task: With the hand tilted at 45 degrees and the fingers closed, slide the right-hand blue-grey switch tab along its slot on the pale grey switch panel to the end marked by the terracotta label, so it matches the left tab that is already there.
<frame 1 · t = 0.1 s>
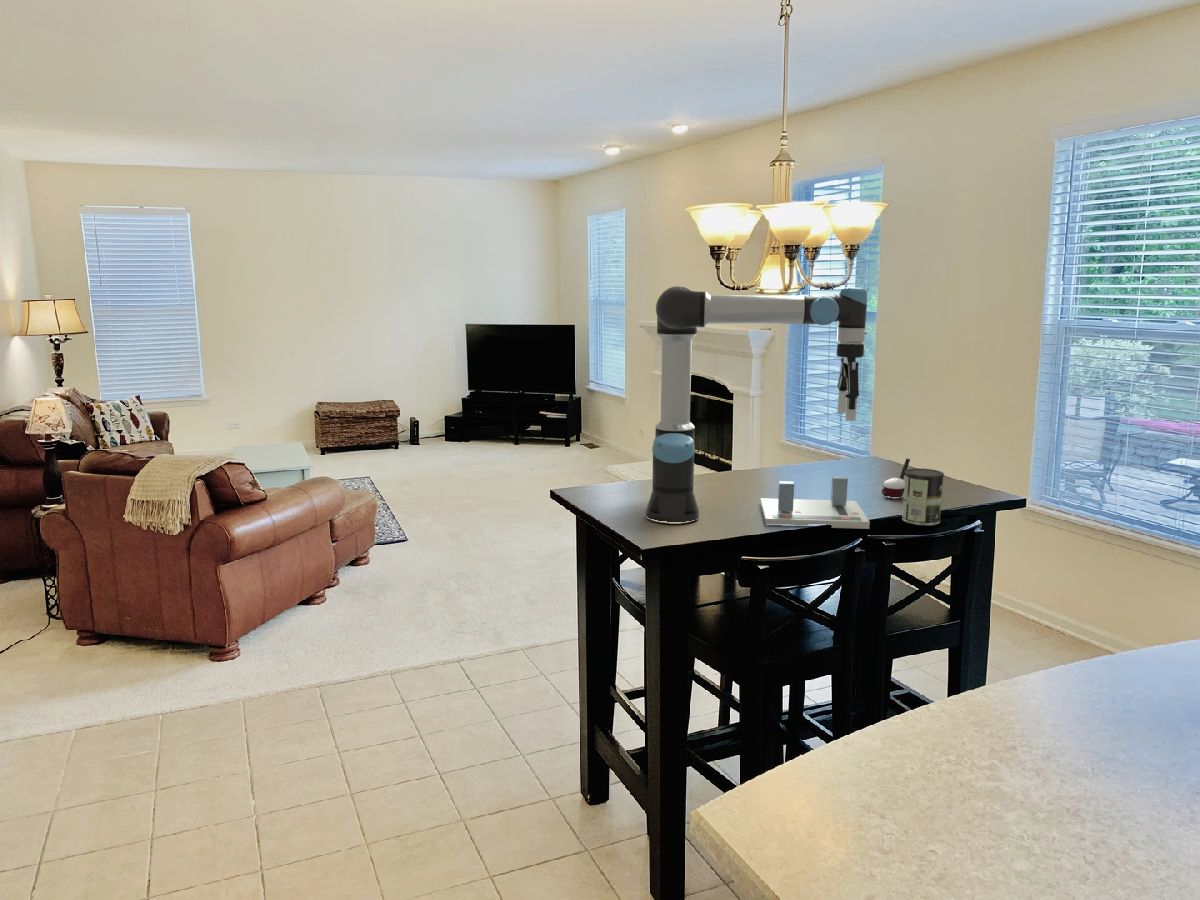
hand: (846, 416, 251), 28 cm above the table, tool pointing down, fingers open, 13 cm apart
left switch tab: (785, 496, 247), point 7 cm above the table, slide at 8.0 cm
switch panel: (812, 516, 250), on the table
cocoa: (894, 498, 271), on the table
right switch tab: (839, 490, 253), point 7 cm above the table, slide at 0.0 cm
coffee can: (920, 521, 246), on the table
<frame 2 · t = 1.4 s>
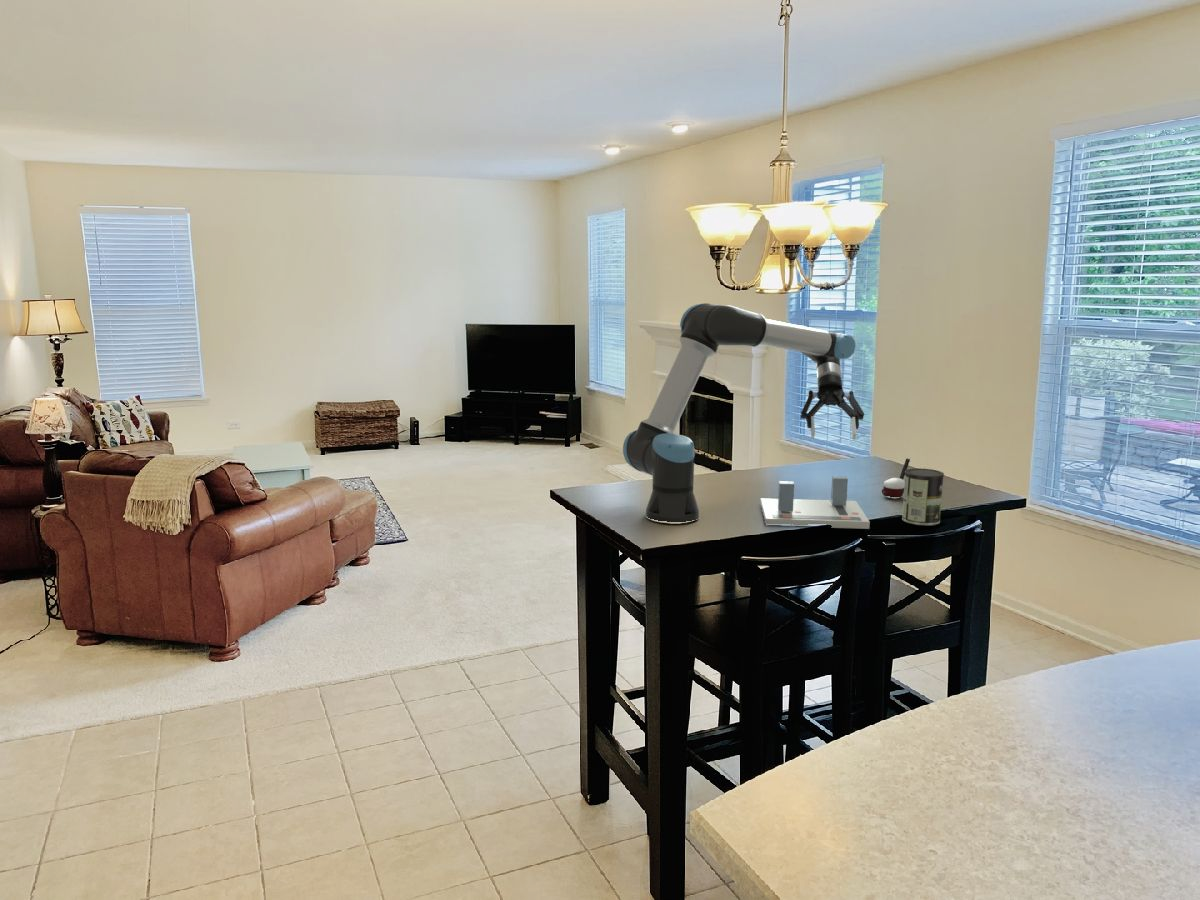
hand: (833, 436, 266), 20 cm above the table, tool tilted 45°, fingers open, 12 cm apart
nothing on the table moved.
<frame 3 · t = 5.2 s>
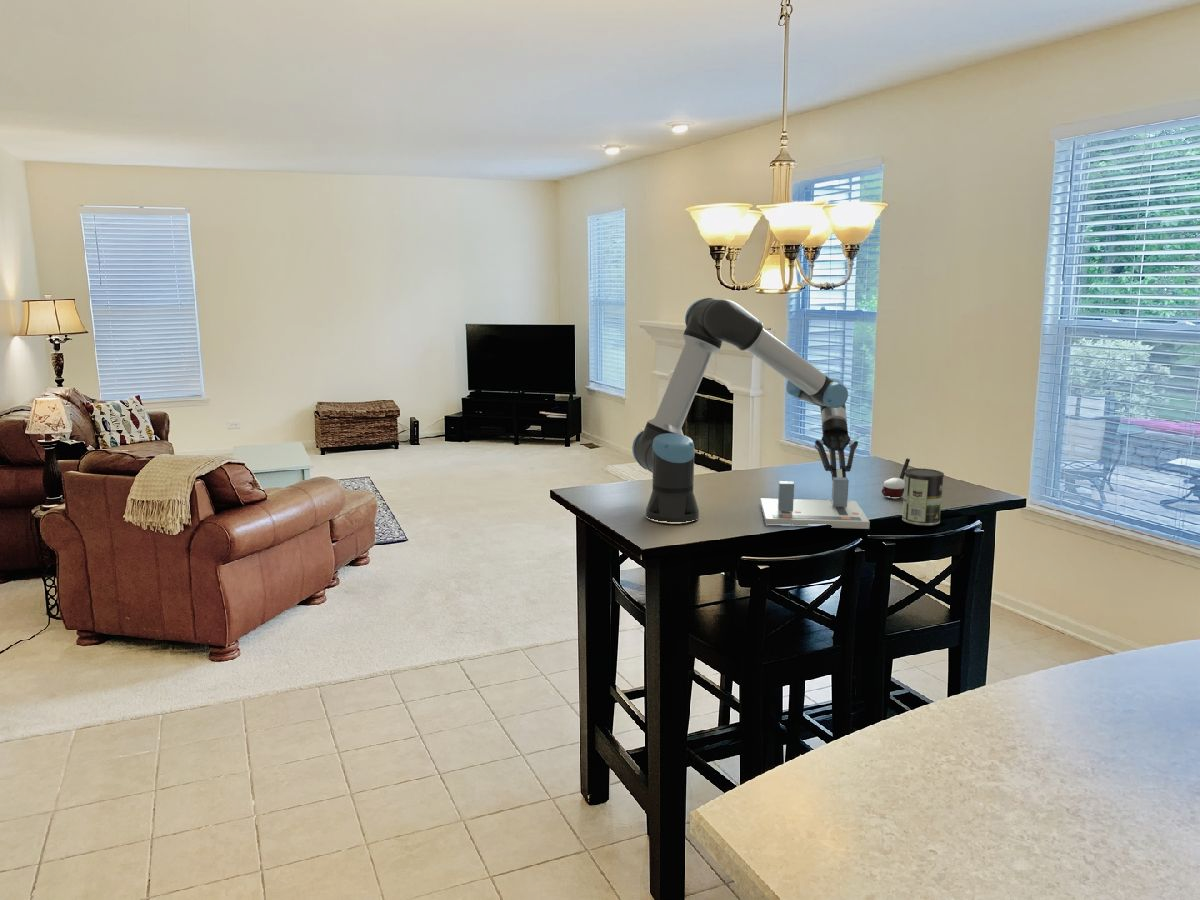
hand: (840, 490, 254), 6 cm above the table, tool tilted 45°, fingers closed
right switch tab: (839, 492, 252), point 7 cm above the table, slide at 1.5 cm, touching gripper
everything else where it was.
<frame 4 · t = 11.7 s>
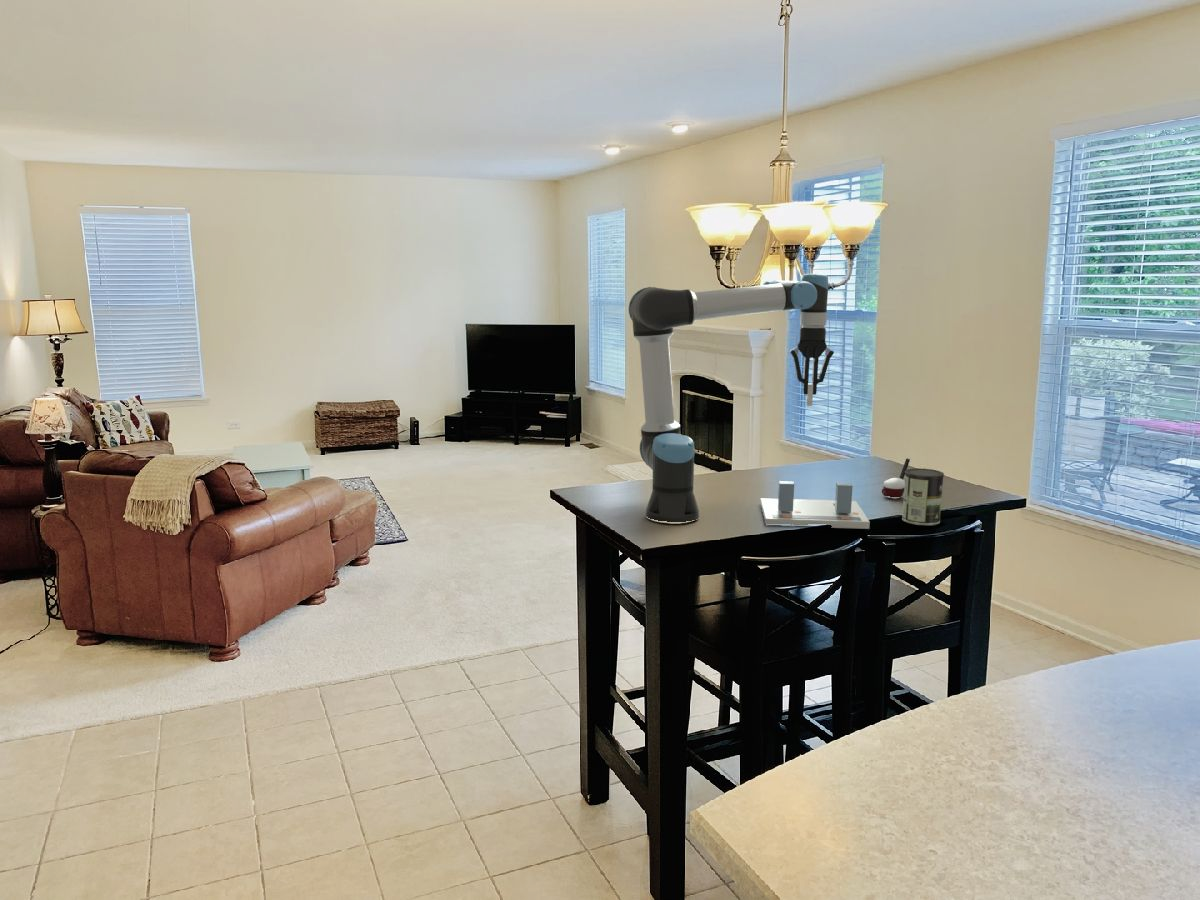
hand: (809, 405, 263), 29 cm above the table, tool pointing down, fingers closed
right switch tab: (843, 497, 245), point 7 cm above the table, slide at 8.1 cm
everything else where it was.
at the end: right switch tab slide at 8.1 cm; left switch tab slide at 8.0 cm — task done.
